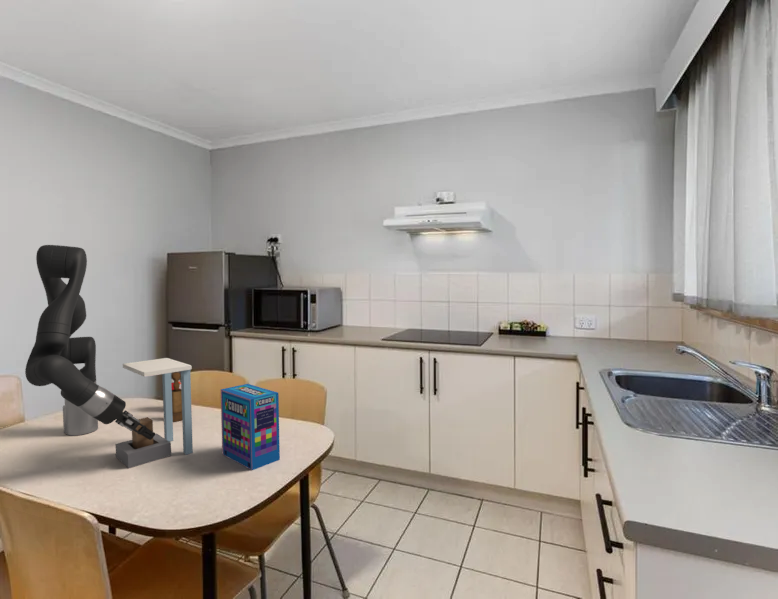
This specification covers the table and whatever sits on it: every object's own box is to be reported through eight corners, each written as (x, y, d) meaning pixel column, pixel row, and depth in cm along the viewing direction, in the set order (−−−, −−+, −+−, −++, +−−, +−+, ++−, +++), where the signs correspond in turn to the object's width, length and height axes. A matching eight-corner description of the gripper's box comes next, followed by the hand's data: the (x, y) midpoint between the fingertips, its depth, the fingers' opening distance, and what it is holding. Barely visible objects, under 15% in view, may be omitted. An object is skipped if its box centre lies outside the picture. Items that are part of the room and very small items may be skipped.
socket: (128, 468, 120) (127, 454, 120) (115, 457, 128) (115, 443, 127) (171, 455, 128) (170, 442, 128) (157, 445, 136) (156, 433, 136)
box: (222, 454, 129) (220, 389, 128) (249, 445, 136) (247, 383, 135) (252, 470, 118) (250, 399, 117) (279, 459, 125) (278, 392, 124)
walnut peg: (137, 460, 125) (136, 424, 124) (132, 456, 128) (131, 420, 127) (153, 456, 128) (152, 420, 128) (148, 452, 131) (147, 417, 131)
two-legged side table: (147, 467, 120) (144, 372, 119) (125, 449, 133) (122, 363, 132) (194, 453, 130) (191, 365, 128) (169, 438, 143) (167, 357, 141)
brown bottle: (181, 421, 159) (179, 374, 158) (164, 421, 159) (162, 374, 158) (189, 416, 166) (188, 370, 165) (173, 416, 166) (171, 370, 165)
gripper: (120, 397, 117) (166, 427, 126) (105, 389, 126) (148, 417, 135) (98, 421, 113) (147, 451, 122) (84, 410, 123) (130, 438, 132)
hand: (147, 433), depth 129 cm, fingers open, 8 cm apart
